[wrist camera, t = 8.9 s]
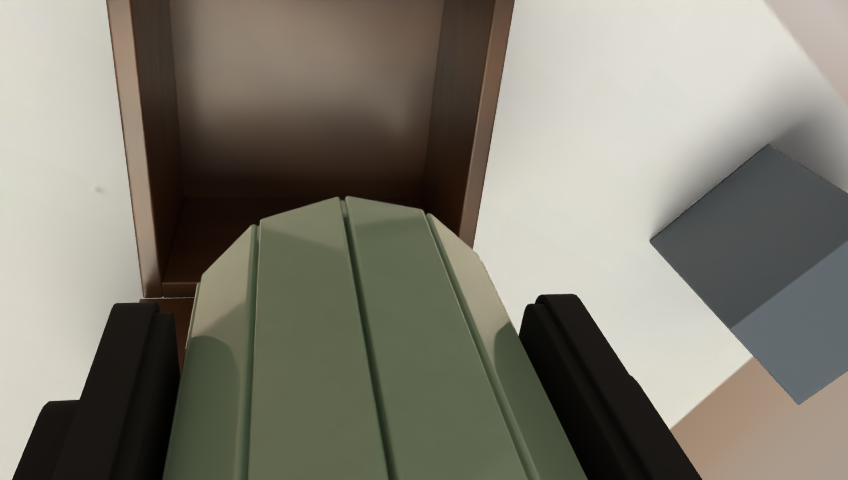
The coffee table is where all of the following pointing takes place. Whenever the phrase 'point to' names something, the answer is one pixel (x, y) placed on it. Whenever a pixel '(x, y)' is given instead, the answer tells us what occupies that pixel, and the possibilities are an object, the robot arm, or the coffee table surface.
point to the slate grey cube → (772, 267)
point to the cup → (358, 359)
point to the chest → (298, 115)
